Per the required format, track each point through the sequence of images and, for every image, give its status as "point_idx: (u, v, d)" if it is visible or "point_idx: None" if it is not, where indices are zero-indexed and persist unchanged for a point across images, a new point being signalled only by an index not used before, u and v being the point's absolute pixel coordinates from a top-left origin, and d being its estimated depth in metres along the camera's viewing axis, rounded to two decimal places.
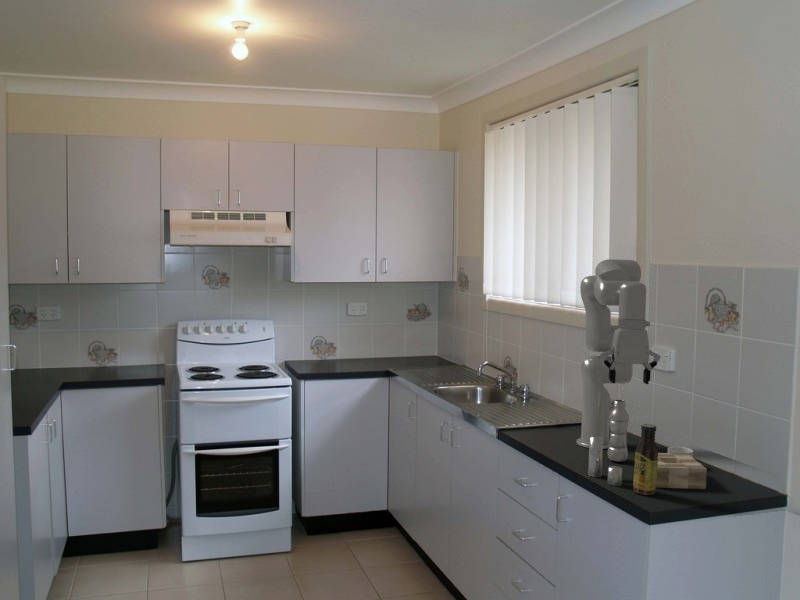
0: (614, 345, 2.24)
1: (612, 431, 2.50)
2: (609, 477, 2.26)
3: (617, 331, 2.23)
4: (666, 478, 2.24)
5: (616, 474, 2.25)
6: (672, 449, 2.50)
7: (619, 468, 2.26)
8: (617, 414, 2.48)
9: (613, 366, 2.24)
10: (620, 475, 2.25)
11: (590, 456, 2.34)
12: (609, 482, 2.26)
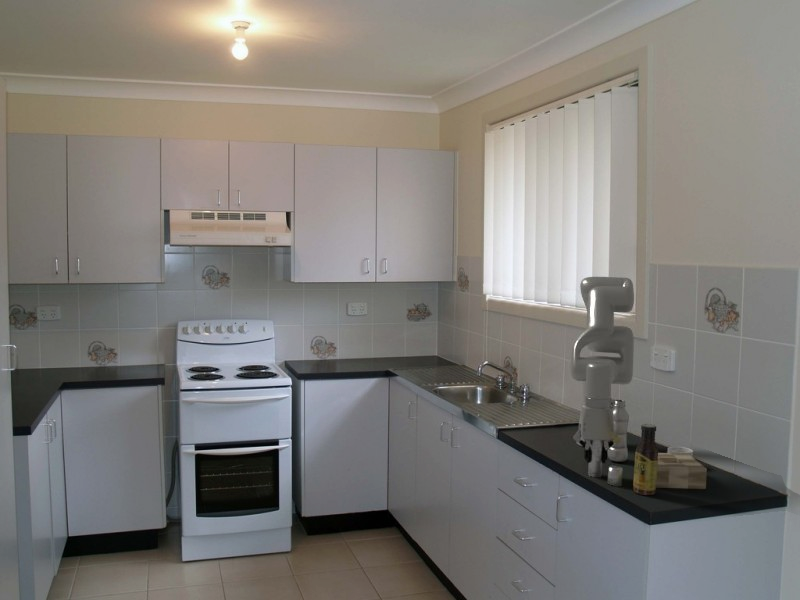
0: (581, 422, 2.33)
1: None
2: (609, 477, 2.26)
3: (584, 409, 2.33)
4: (666, 478, 2.24)
5: (617, 473, 2.25)
6: (672, 449, 2.50)
7: (620, 468, 2.26)
8: (617, 414, 2.48)
9: (587, 446, 2.33)
10: (620, 475, 2.25)
11: (590, 456, 2.34)
12: (609, 482, 2.26)
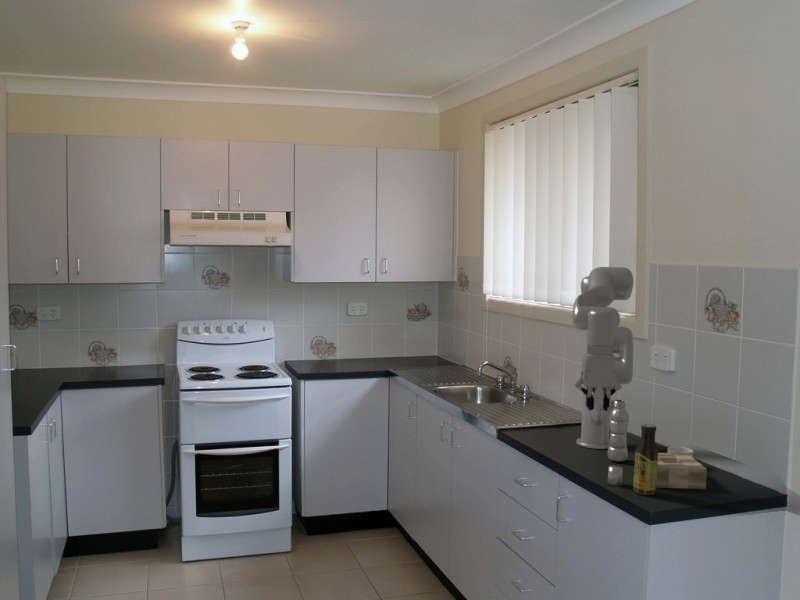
0: (583, 369, 2.32)
1: (612, 431, 2.50)
2: (610, 477, 2.26)
3: (586, 356, 2.32)
4: (666, 478, 2.24)
5: (617, 473, 2.25)
6: (672, 449, 2.50)
7: (620, 468, 2.26)
8: (617, 414, 2.48)
9: (589, 393, 2.32)
10: (621, 475, 2.26)
11: (592, 404, 2.33)
12: (610, 482, 2.26)
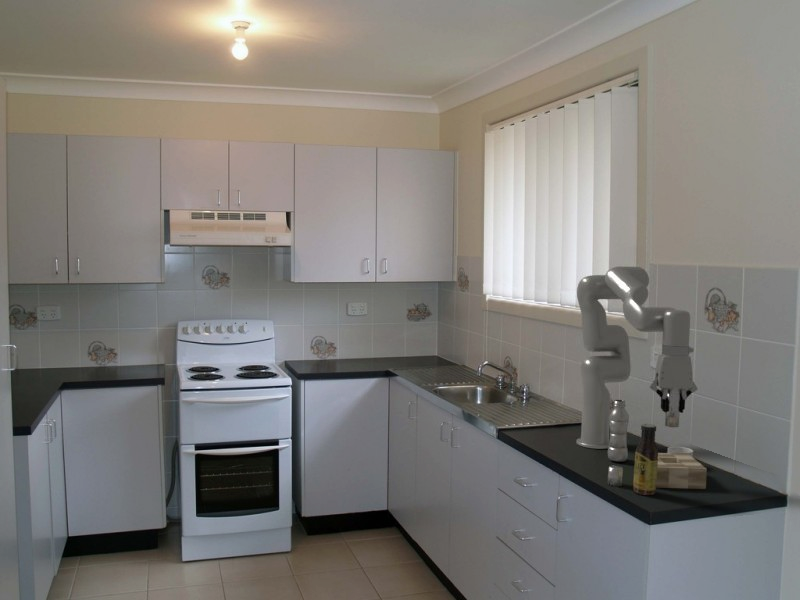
0: (658, 371, 2.29)
1: (612, 431, 2.50)
2: (611, 477, 2.26)
3: (661, 357, 2.29)
4: (666, 478, 2.24)
5: (618, 474, 2.25)
6: (672, 449, 2.50)
7: (620, 468, 2.26)
8: (617, 414, 2.48)
9: (664, 395, 2.29)
10: (621, 475, 2.26)
11: None
12: (610, 482, 2.26)
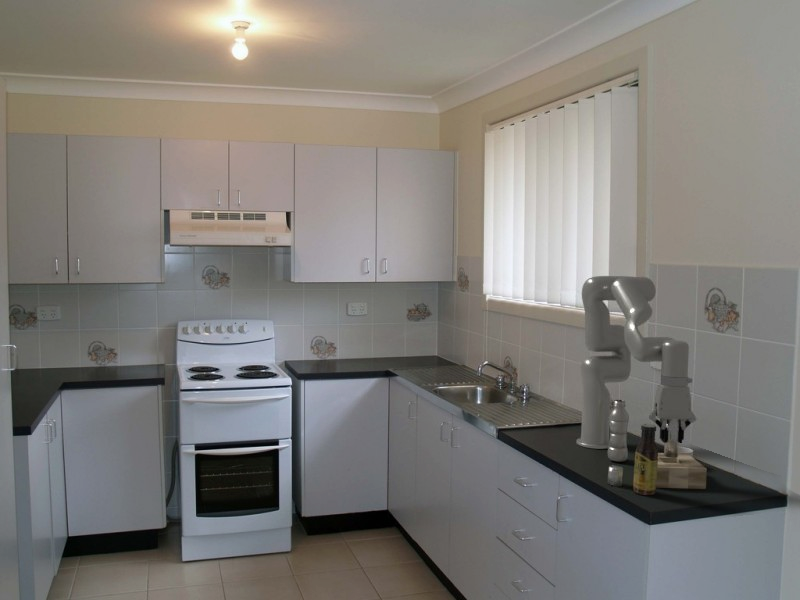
0: (657, 401, 2.30)
1: (612, 431, 2.50)
2: (611, 477, 2.25)
3: (660, 388, 2.29)
4: (666, 478, 2.24)
5: (619, 474, 2.25)
6: None
7: (620, 468, 2.26)
8: (617, 414, 2.48)
9: (663, 425, 2.30)
10: None
11: None
12: (611, 482, 2.26)
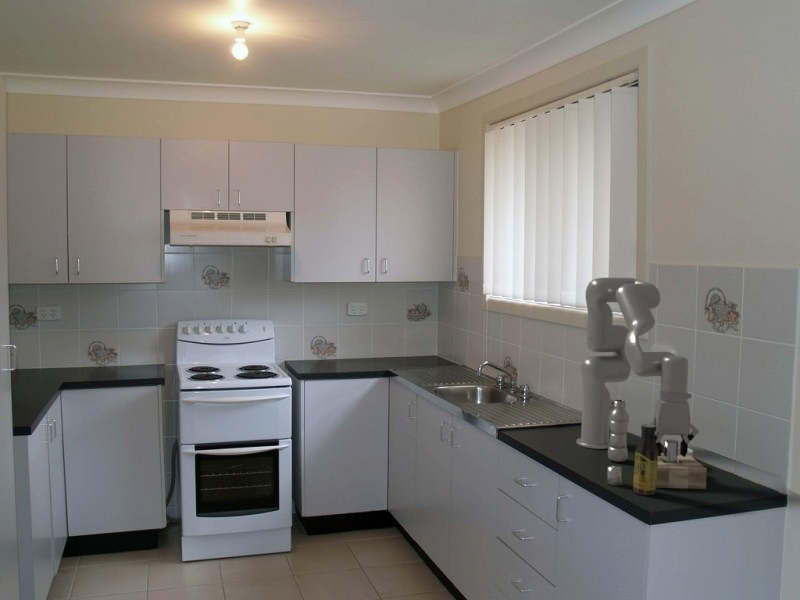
0: (656, 416, 2.30)
1: (612, 431, 2.50)
2: (612, 477, 2.25)
3: (659, 403, 2.30)
4: (666, 478, 2.24)
5: (619, 473, 2.25)
6: None
7: (618, 467, 2.27)
8: (617, 414, 2.48)
9: (659, 439, 2.30)
10: None
11: (665, 460, 2.31)
12: (612, 482, 2.25)
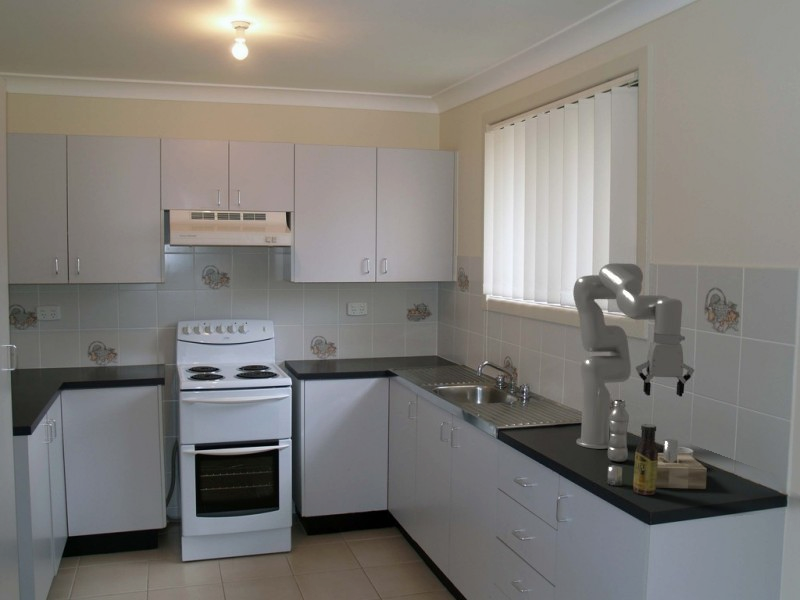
0: (649, 359, 2.31)
1: (612, 431, 2.50)
2: (613, 477, 2.25)
3: (653, 345, 2.31)
4: (666, 478, 2.24)
5: (620, 472, 2.25)
6: None
7: (619, 467, 2.27)
8: (617, 414, 2.48)
9: (648, 379, 2.31)
10: (621, 473, 2.27)
11: (665, 460, 2.31)
12: (613, 482, 2.25)
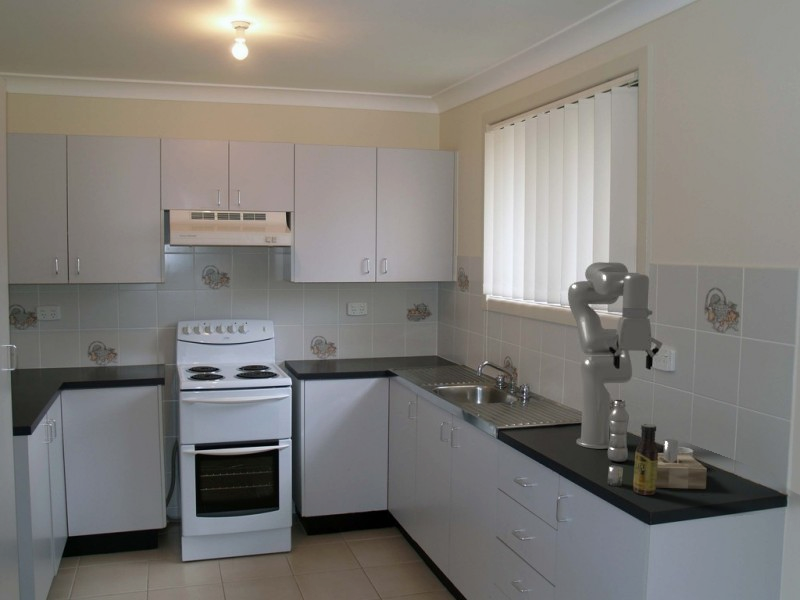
0: (618, 333, 2.38)
1: (612, 431, 2.50)
2: (615, 478, 2.25)
3: (621, 319, 2.37)
4: (666, 478, 2.24)
5: (621, 473, 2.25)
6: None
7: (619, 467, 2.27)
8: (617, 414, 2.48)
9: (617, 352, 2.38)
10: None
11: (665, 460, 2.31)
12: (614, 483, 2.25)
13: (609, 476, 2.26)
